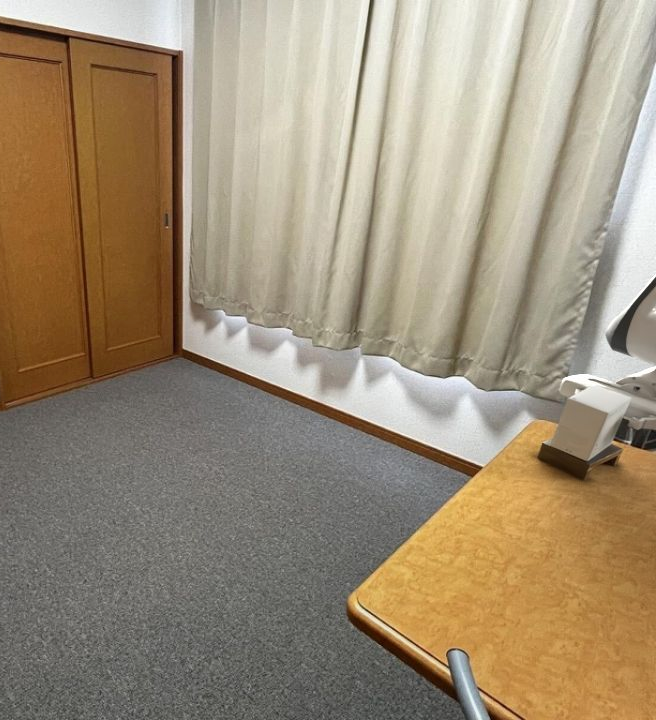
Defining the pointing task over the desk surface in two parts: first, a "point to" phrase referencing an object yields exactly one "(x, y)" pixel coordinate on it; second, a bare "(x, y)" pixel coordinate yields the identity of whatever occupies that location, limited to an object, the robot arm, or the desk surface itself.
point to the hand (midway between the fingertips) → (602, 412)
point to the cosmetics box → (589, 422)
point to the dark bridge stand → (578, 459)
